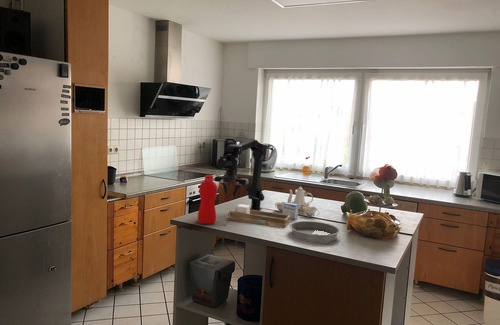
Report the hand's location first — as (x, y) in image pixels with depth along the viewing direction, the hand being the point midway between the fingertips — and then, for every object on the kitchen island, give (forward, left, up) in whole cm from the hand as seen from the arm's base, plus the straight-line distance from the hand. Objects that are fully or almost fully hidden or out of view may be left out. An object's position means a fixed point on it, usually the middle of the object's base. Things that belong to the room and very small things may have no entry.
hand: (230, 195), depth 218 cm
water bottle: (+18, -6, -12) cm, 23 cm away
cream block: (0, +8, -10) cm, 13 cm away
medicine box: (-14, +32, -12) cm, 37 cm away
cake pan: (+13, +50, -12) cm, 53 cm away
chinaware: (-30, +33, -12) cm, 46 cm away
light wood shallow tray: (0, +18, -12) cm, 22 cm away
